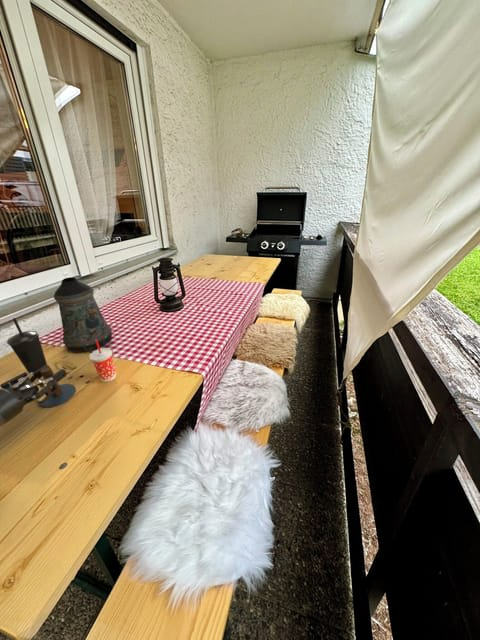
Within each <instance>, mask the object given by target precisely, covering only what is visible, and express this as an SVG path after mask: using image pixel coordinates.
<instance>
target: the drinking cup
mask: <svg viewBox="0 0 480 640" xmlns="http://www.w3.org/2000/svg"><path fill="white" fill-rule="evenodd" d="M12 321H13V323H14V325H15V327H16V329H17V331H18V333H16V334H14V335H12V336H10V337H9V338H8V339H7V340H6V343H7V345H8V346H10V348H11V349H12V350H13V352H14V353H15V355H16V356H17V358H18V359H19V361H20V363H21V364H22V365H23V367H24V368H25V370H26V371H27V374H29V373H31V372H35V371H37V370H39V369H40V368H42V367H43V366H45V365H48V363H47V359H46V356H45V353H44V349H43V347H42V343H41V340H40V337H39V336H40V333H39V332H38V331H35V330H27V331H23V330H22V329H21V327H20V325H19V322H18V321H17V318H16V317H13V318H12Z"/></svg>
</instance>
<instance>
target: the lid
mask: <svg viewBox="0 0 480 640" xmlns="http://www.w3.org/2000/svg"><path fill="white" fill-rule="evenodd" d="M41 374H42V376H43V377H42V378H43V380H45V379H48V378H50V377H51V376H52V375H54V374H55V373H54V371H53V369H52V367H51V366H49V367H45V368H43V369H42V370H41ZM47 384H49V382H48V383H46V384H45V385H47ZM57 385H58V387H59V389H58V390H56V391H55V392H54V393H53V394H52V395H51V396H50V397H49V398H48V399H47V400H46V401H45V402H43V403H42V404H39V406H40V407H42V408H46V409H50V408H56V407H58V406H61V405H63V404H65V403H67V402H68V401H70V400H71V399H72V398H73V397H74V395H75V394H76V392H77V389H76V387H75V385H74V384H71V383H61V384H59V382H57ZM51 389H52V388H50V390H51Z"/></svg>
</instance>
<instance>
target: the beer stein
mask: <svg viewBox="0 0 480 640" xmlns="http://www.w3.org/2000/svg"><path fill="white" fill-rule="evenodd" d="M94 294H95V289H94V287H92V286H91V285H88V284H86V283H85V282H82V281H79V280H78V279H77V278H76V277H72V276H71V277H65V278H63V279H62V280H61V282H60V285H59V287H58V288H57V289H56V290H55V292H54V294H53V299H54V300H55V302H56V303H57V304H58V309H59V314H60V318H61V326H62V342H63V345H65V347H66V349H67V351H70V352H71V353H74V354H82V353H83V354H85V353H89V352H94V351H96V349H97V350H98V347H97V344H96V341H95V339H97V341H98V344H99V347H100V349H102V348H104V347H106V346H107V345H108V344H109V343H110V342H111V341H112V338H113V337H112V336H113V334H112V333H113V332H112V331H113V329H112V327H111V326H110V325H109V324H108V323H107V321H106V319H105V318H104V316H103V314H102V311H101V310H100V307H99V306H98V303H97V301H96V299H95V297H94ZM109 341H110V342H109ZM108 342H109V343H108ZM107 343H108V344H107ZM106 344H107V345H106ZM105 345H106V346H105Z"/></svg>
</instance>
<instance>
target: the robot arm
mask: <svg viewBox="0 0 480 640" xmlns="http://www.w3.org/2000/svg"><path fill="white" fill-rule="evenodd" d="M45 367H50V365H48V364H47V365H45V366H43V367H42V368H40V369H39V370H37V371H35V372H31V373H28V372H26V371H24V372H22V373H20V374H18V375H16V376H14V377H12V378H10V379H8V380H6V381H4V382H2V383H0V428H2V427H4V426H5V425H6V424H7V423H9V422H11V420H13V419H14V418H16V417H18V416H19V414H21V413H22V412H23V410H24V407H25V406H26V405H28V404H30V403H32V402H33V401H34V402H37V403H38V404H39V405H40V404H42V403H43V402H45V401H46V400H47V399H48V398H49V397H50V396H51V395H52V394H53V393H54V392H55V391H56V390H58V389H59V387H58V385H57V382H58V383H59V382H61V381H62V380H64V378H66V377H67V375H68V373H67V371H66V369H65V368H62V369H60V370H58V371H56V373H54V375H52V376H51V377H50V378H48V379H45V380H44V379H43V380H40V379H41V378H43V376H42V374H41V370H42V369H43V368H45ZM48 382H49V384H46V383H48ZM39 387H40V389H39ZM50 388H52V389H51V390H50Z"/></svg>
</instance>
